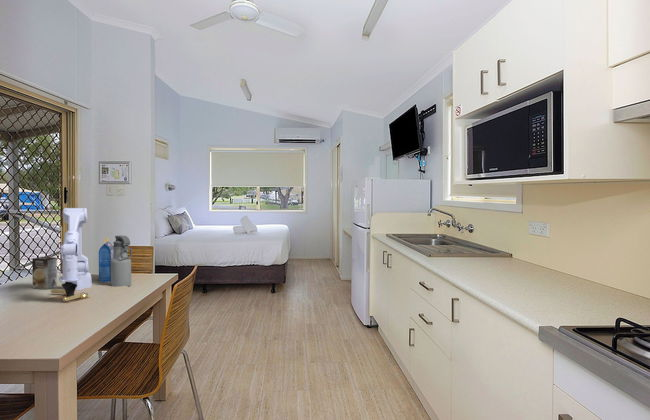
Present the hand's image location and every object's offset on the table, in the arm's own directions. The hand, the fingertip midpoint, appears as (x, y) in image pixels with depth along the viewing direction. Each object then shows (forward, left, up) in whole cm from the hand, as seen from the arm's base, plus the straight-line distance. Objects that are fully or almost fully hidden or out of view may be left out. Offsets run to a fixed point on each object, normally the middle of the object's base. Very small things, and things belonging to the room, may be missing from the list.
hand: (70, 298), depth 161 cm
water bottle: (-30, -7, -3) cm, 31 cm away
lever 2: (-2, +1, -1) cm, 2 cm away
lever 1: (-4, -13, -1) cm, 14 cm away
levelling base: (-2, -5, -2) cm, 6 cm away
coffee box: (-10, -41, -3) cm, 43 cm away
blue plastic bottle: (-36, -29, -3) cm, 47 cm away
